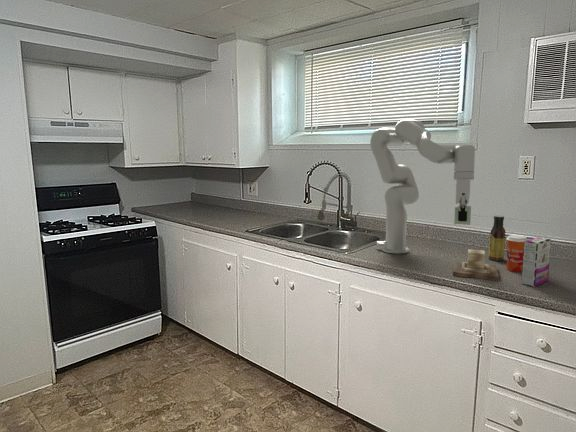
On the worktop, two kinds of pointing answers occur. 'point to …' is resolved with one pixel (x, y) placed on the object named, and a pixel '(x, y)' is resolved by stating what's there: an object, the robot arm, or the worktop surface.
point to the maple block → (476, 259)
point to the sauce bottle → (497, 239)
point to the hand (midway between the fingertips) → (462, 219)
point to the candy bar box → (536, 261)
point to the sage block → (467, 216)
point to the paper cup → (515, 252)
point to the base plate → (476, 271)
